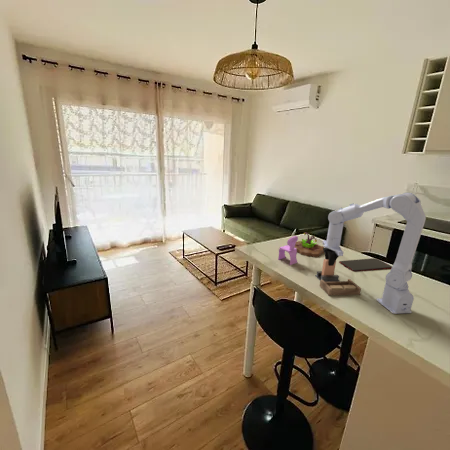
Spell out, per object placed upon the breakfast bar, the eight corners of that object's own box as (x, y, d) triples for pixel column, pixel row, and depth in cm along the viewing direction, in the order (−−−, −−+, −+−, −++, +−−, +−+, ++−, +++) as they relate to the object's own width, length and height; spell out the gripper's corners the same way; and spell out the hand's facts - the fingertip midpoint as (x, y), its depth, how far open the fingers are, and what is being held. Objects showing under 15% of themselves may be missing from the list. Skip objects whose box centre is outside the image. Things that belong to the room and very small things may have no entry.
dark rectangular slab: (337, 260, 138) (375, 257, 143) (337, 263, 138) (374, 260, 144) (353, 270, 126) (393, 266, 132) (352, 273, 127) (393, 269, 132)
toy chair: (285, 256, 142) (288, 231, 138) (298, 262, 136) (302, 235, 132) (276, 259, 137) (278, 233, 133) (288, 265, 131) (292, 238, 127)
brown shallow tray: (359, 294, 106) (361, 288, 105) (328, 295, 104) (329, 289, 103) (348, 285, 113) (349, 279, 112) (319, 285, 112) (320, 279, 111)
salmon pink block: (333, 276, 117) (336, 260, 115) (323, 276, 117) (326, 261, 115) (331, 274, 119) (333, 258, 117) (321, 274, 119) (323, 259, 116)
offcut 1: (341, 293, 106) (342, 287, 105) (330, 294, 105) (331, 287, 104) (339, 291, 108) (340, 285, 107) (328, 291, 107) (329, 285, 106)
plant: (300, 242, 168) (302, 226, 164) (329, 251, 154) (332, 233, 151) (284, 249, 154) (285, 232, 151) (314, 259, 141) (316, 240, 138)
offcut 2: (354, 293, 107) (356, 287, 106) (343, 293, 106) (345, 287, 105) (351, 291, 109) (353, 284, 108) (341, 291, 108) (342, 285, 107)
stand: (339, 281, 116) (340, 276, 115) (321, 281, 115) (321, 276, 114) (332, 275, 122) (333, 270, 121) (315, 275, 121) (315, 270, 120)
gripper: (318, 231, 119) (314, 257, 123) (334, 242, 105) (329, 271, 109) (332, 231, 120) (327, 257, 124) (350, 242, 106) (344, 271, 110)
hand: (329, 264), depth 116 cm, fingers closed on salmon pink block, 2 cm apart
